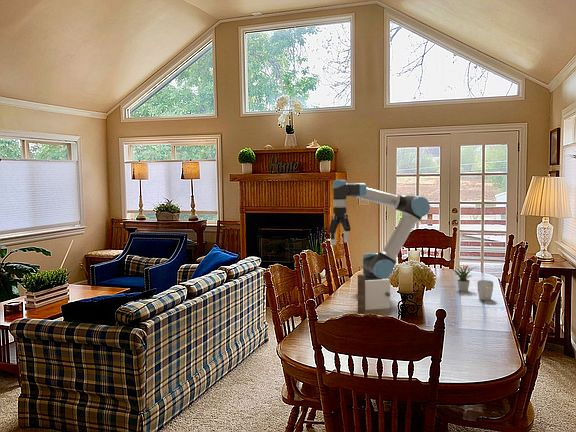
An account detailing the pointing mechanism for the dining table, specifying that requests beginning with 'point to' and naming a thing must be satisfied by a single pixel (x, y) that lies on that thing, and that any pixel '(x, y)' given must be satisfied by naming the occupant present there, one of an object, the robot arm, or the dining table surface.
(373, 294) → the door
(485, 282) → the mug
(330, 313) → the dining table surface
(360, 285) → the door post
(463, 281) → the house plant
